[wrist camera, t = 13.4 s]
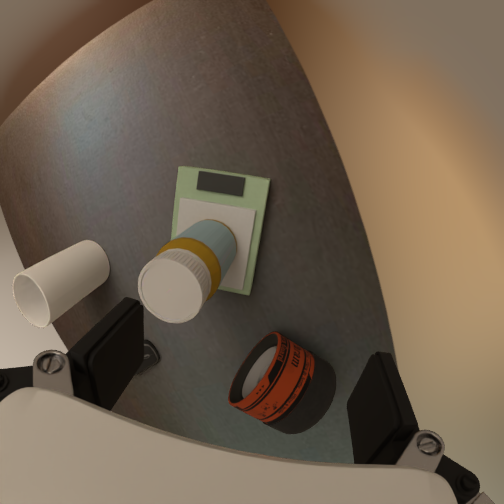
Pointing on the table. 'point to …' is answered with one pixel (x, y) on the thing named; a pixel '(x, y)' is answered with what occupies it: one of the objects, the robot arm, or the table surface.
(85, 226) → the table surface
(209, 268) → the bottle
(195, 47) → the table surface
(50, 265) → the cup
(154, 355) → the computer mouse
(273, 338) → the oil filter
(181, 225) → the scale
